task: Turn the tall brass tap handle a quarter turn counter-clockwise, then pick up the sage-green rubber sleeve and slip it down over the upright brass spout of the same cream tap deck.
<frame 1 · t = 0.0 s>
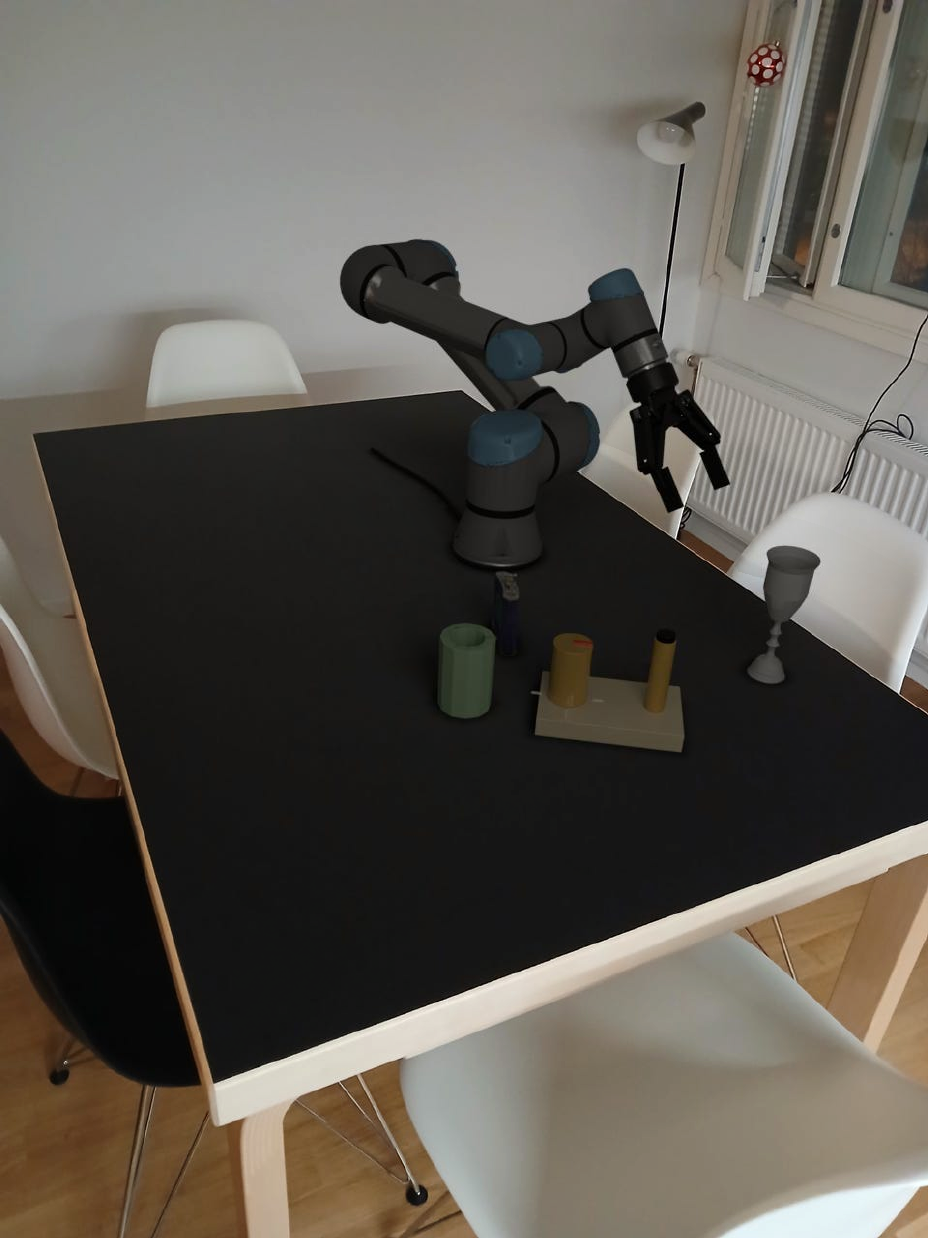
hand: (700, 498, 149), 15 cm above the table, tool tilted 35°, fingers open, 13 cm apart
chalice: (765, 674, 135), on the table
tap deck: (608, 718, 123), on the table
spout: (651, 723, 123), resting on tap deck
flask: (504, 640, 140), on the table
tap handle: (570, 669, 121), point 7 cm above the table, hinge at 0.0°
sleeve: (464, 703, 125), on the table
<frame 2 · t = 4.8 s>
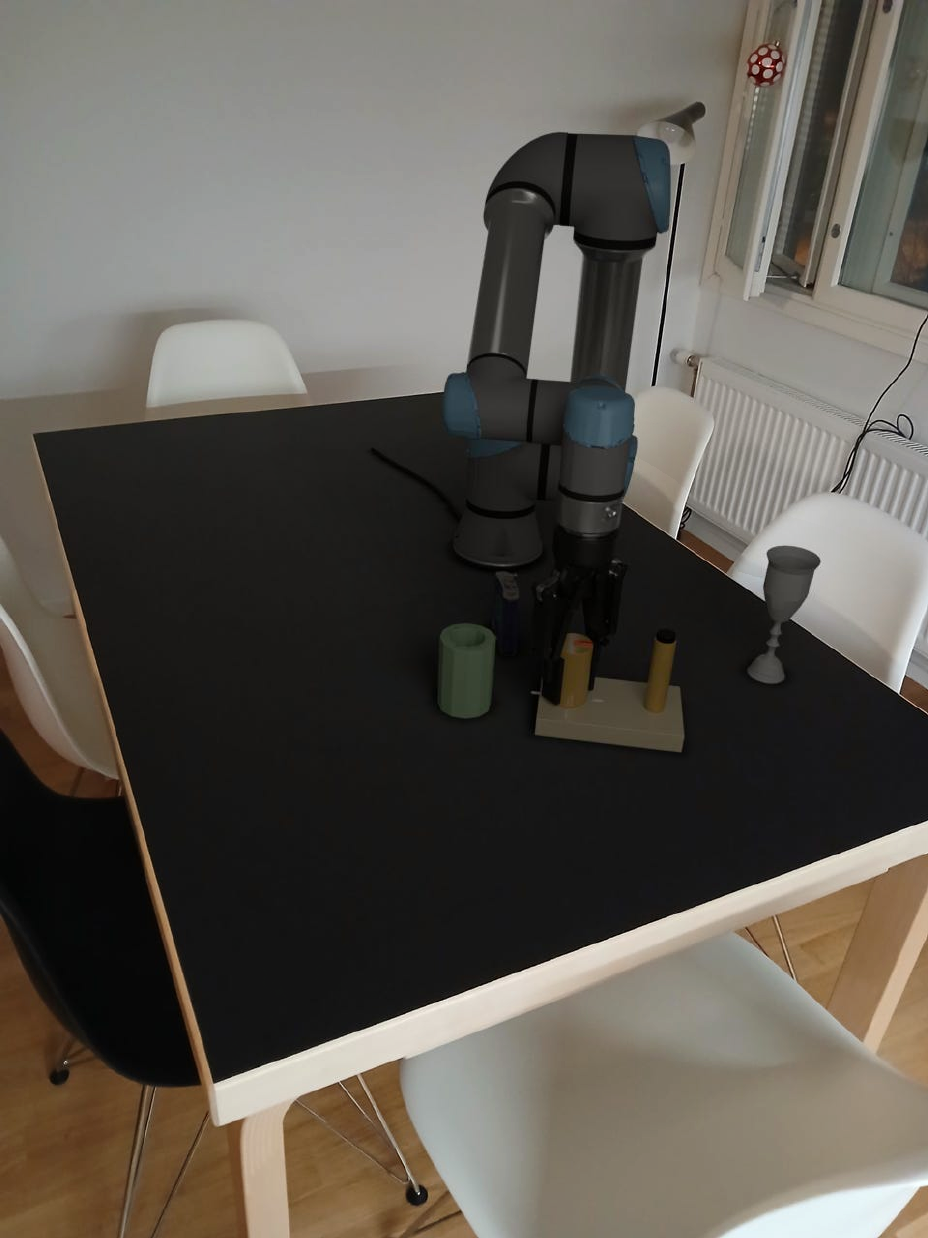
hand: (567, 692, 122), 3 cm above the table, tool pointing down, fingers closed on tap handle, 5 cm apart
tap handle: (570, 669, 121), point 7 cm above the table, hinge at 0.0°, touching gripper
everything else where it was.
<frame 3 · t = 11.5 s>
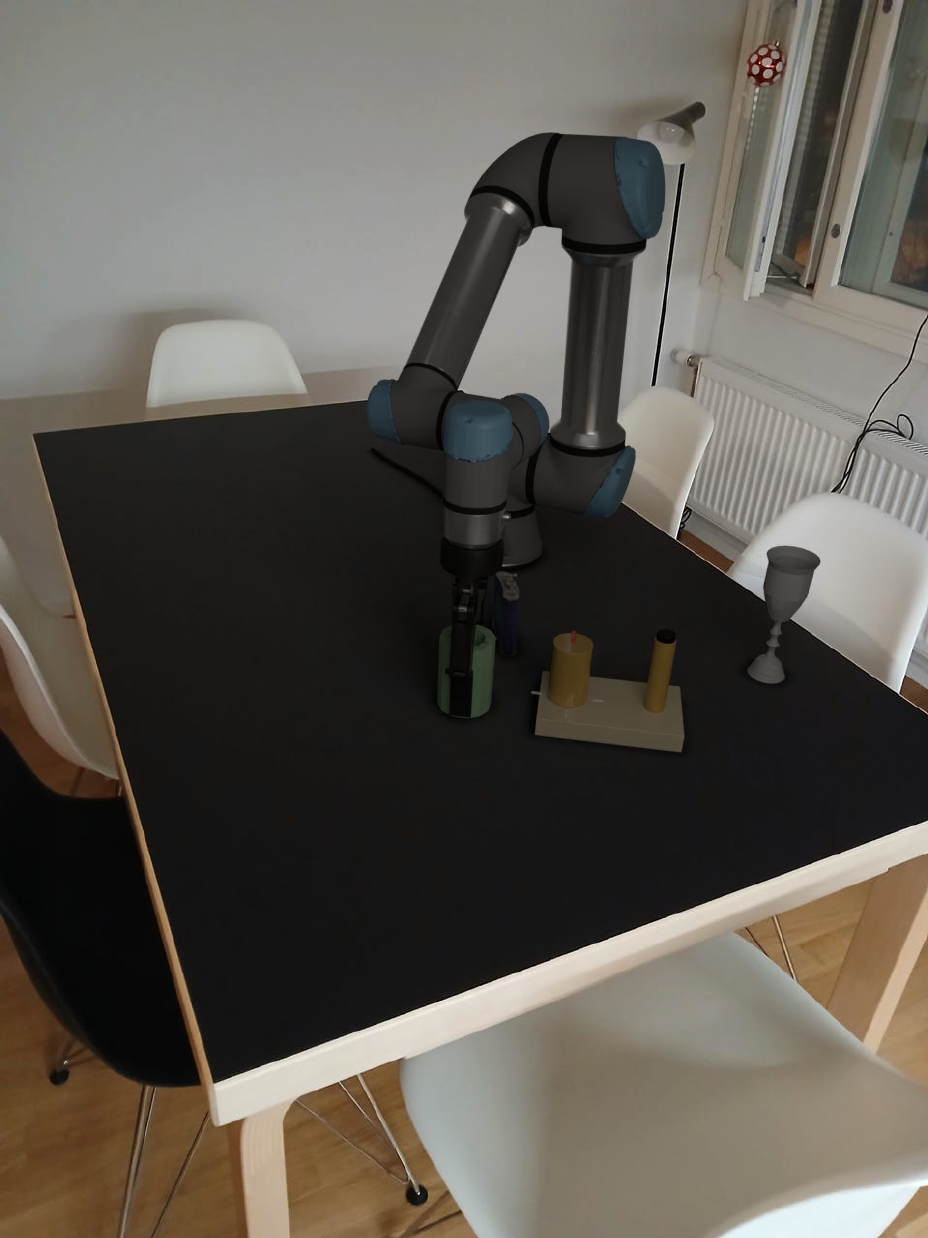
hand: (464, 697, 125), 1 cm above the table, tool pointing down, fingers closed on sleeve, 7 cm apart
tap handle: (570, 669, 121), point 7 cm above the table, hinge at 90.6°
sleeve: (464, 703, 125), on the table, touching gripper
everything else where it was.
when the fingers open (3 cm above the table, at t = 19.9 s): sleeve stays where it is, resting on tap deck.
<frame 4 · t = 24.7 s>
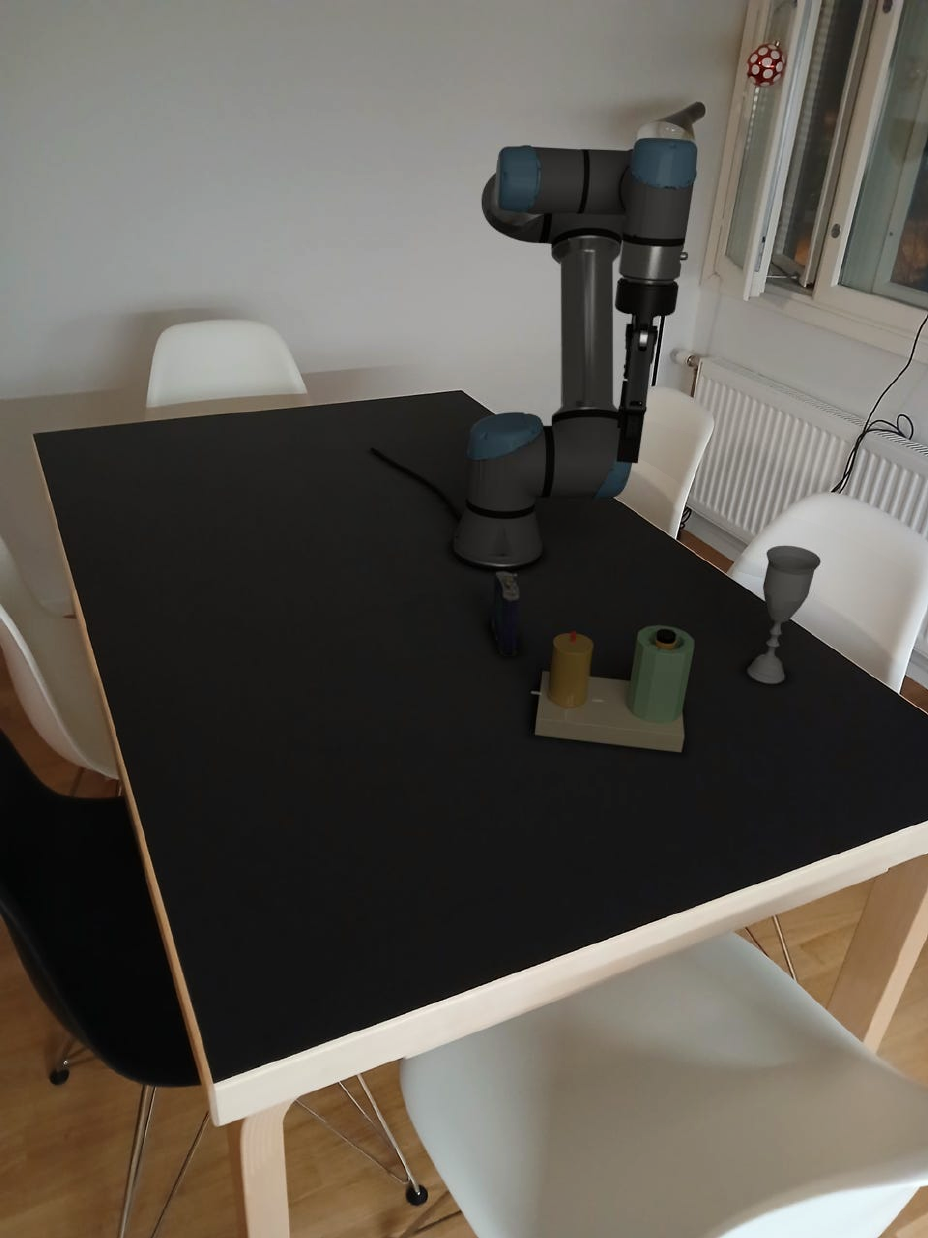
hand: (626, 444, 129), 29 cm above the table, tool pointing down, fingers open, 13 cm apart
sleeve: (654, 707, 122), point 2 cm above the table, touching tap deck
everything else where it was.
at the end: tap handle at +91° (first picture: +0°); sleeve 0.0 cm off-centre on the spout, point 2.5 cm above the spout's base; sleeve tilted 0° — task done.
